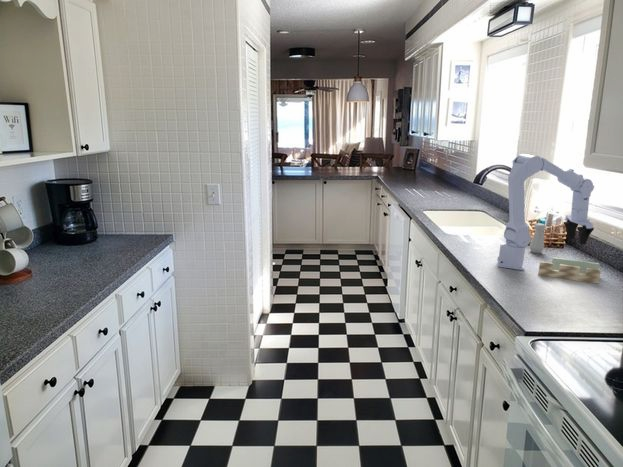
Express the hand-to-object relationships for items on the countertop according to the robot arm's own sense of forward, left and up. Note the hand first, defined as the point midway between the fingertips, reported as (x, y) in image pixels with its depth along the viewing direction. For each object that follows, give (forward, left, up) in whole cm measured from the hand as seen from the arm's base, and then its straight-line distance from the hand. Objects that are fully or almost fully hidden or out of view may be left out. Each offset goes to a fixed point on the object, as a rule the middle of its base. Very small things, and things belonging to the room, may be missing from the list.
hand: (576, 241), depth 190 cm
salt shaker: (-13, +15, -11) cm, 22 cm away
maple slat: (-4, -19, -10) cm, 22 cm away
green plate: (-1, -10, -10) cm, 14 cm away
